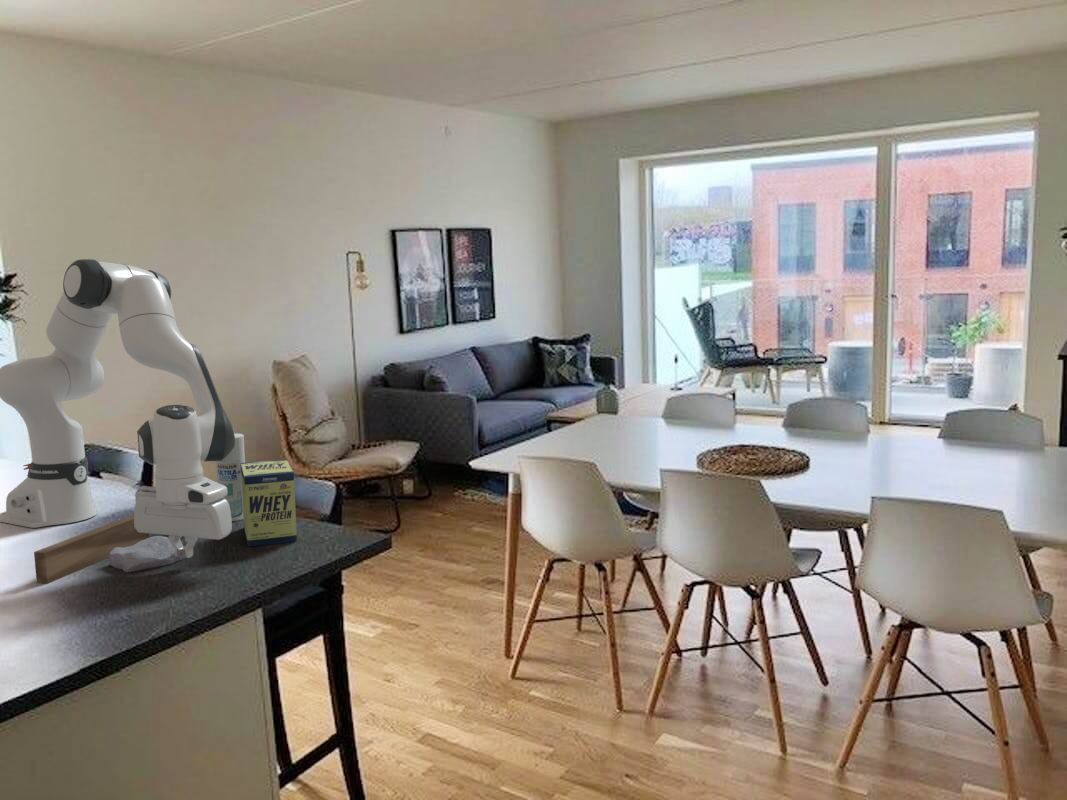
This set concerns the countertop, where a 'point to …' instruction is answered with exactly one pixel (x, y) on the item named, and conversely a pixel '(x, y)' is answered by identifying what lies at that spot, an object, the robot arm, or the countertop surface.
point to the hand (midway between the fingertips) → (184, 556)
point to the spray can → (233, 477)
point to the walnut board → (85, 549)
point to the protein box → (268, 502)
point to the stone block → (144, 554)
